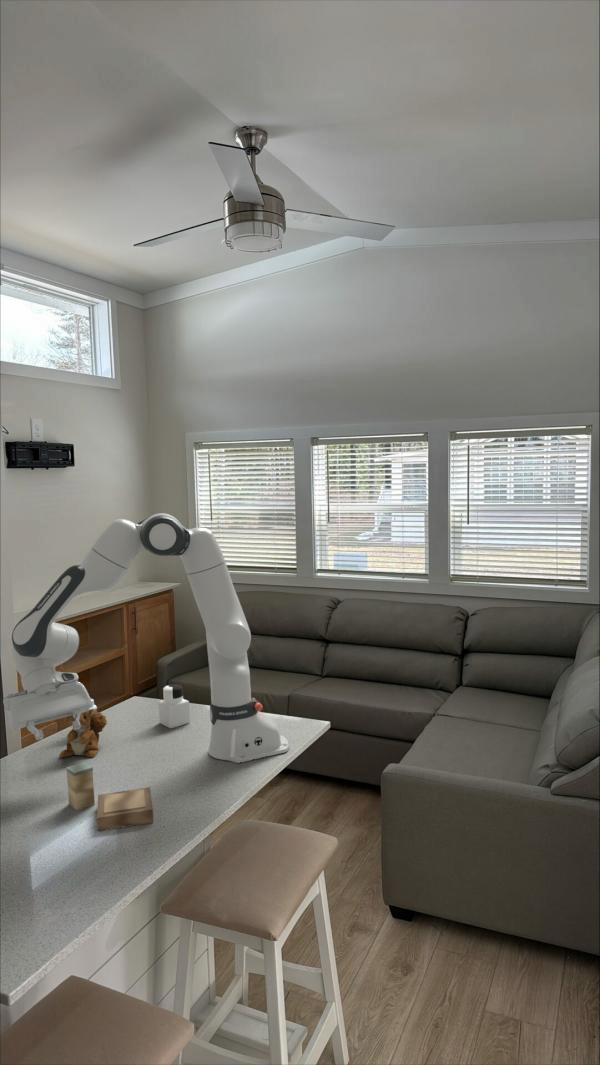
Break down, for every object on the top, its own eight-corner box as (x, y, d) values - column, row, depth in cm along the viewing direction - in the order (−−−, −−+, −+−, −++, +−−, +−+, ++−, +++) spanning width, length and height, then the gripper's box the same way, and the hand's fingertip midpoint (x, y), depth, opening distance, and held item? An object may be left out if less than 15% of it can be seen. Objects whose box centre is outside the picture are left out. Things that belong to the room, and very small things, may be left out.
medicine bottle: (179, 717, 228) (177, 681, 227) (190, 723, 222) (188, 685, 221) (159, 723, 223) (157, 686, 222) (170, 728, 218) (168, 690, 217)
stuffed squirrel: (57, 759, 197) (54, 713, 196) (81, 740, 211) (78, 697, 210) (90, 760, 195) (87, 714, 194) (113, 741, 209) (110, 698, 208)
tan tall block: (87, 798, 172) (84, 761, 171) (95, 804, 169) (92, 767, 168) (68, 804, 169) (66, 767, 168) (76, 810, 166) (73, 773, 165)
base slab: (150, 799, 170) (149, 786, 170) (153, 822, 158) (152, 808, 158) (99, 807, 167) (98, 793, 167) (97, 831, 155) (96, 816, 155)
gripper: (3, 689, 175) (19, 738, 168) (82, 672, 188) (100, 716, 181) (-2, 703, 179) (14, 751, 172) (77, 685, 192) (94, 729, 185)
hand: (59, 733), depth 177 cm, fingers open, 8 cm apart
